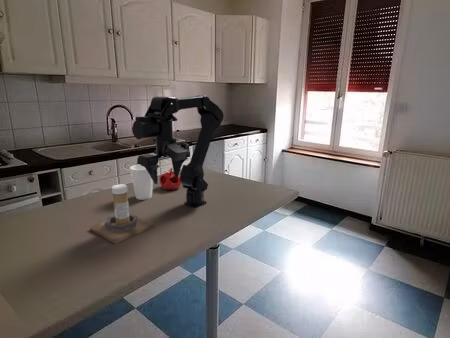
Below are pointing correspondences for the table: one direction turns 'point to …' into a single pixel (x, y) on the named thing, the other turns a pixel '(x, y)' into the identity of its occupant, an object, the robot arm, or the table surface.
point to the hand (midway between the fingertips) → (166, 180)
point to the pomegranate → (170, 180)
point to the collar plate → (120, 234)
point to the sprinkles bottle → (121, 204)
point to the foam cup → (141, 182)
